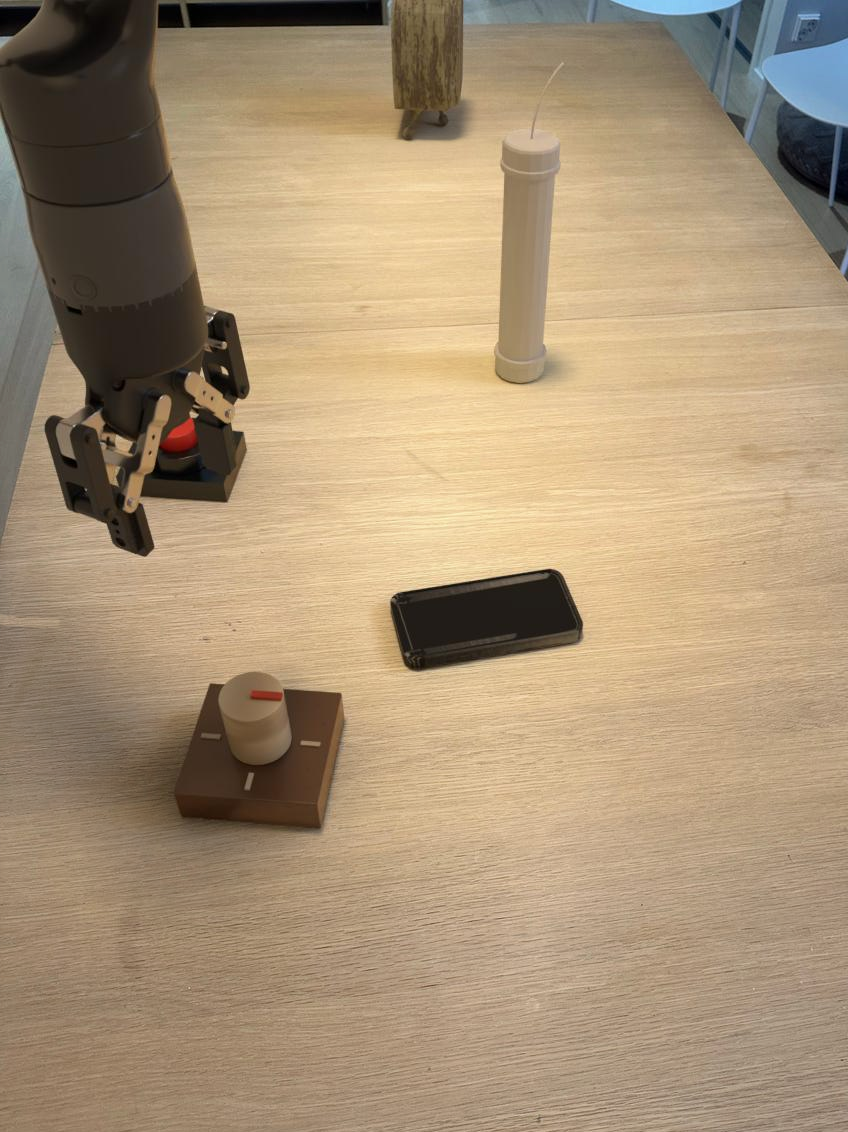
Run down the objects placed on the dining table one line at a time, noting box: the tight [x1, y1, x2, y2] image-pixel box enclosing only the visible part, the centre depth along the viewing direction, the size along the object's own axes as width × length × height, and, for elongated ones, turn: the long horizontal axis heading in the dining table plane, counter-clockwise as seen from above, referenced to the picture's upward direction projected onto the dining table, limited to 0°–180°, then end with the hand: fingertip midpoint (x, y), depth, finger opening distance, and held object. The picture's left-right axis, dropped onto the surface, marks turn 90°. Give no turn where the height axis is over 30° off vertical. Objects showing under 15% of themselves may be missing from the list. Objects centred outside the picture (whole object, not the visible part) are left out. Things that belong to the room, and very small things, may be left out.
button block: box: [115, 417, 248, 503], centre depth 99 cm, size 10×8×4 cm
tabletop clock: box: [390, 0, 464, 140], centre depth 148 cm, size 14×9×25 cm, turn 178°
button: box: [159, 417, 198, 452], centre depth 97 cm, size 4×4×2 cm
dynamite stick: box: [493, 61, 565, 384], centre depth 103 cm, size 6×6×30 cm
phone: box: [389, 568, 584, 670], centre depth 87 cm, size 8×1×15 cm
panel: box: [172, 682, 345, 829], centre depth 77 cm, size 10×10×3 cm
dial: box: [218, 671, 292, 765], centre depth 74 cm, size 4×4×5 cm
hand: (180, 508), depth 66 cm, fingers open, 8 cm apart
